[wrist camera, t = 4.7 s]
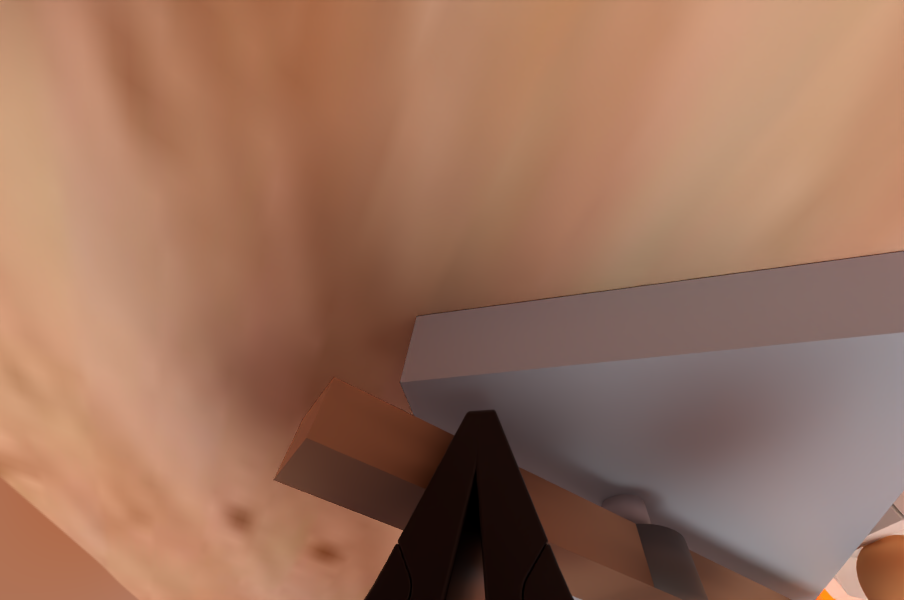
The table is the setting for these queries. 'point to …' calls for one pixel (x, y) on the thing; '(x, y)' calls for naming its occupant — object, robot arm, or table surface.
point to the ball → (882, 569)
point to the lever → (560, 511)
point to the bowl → (845, 583)
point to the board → (699, 405)
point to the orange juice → (825, 596)
